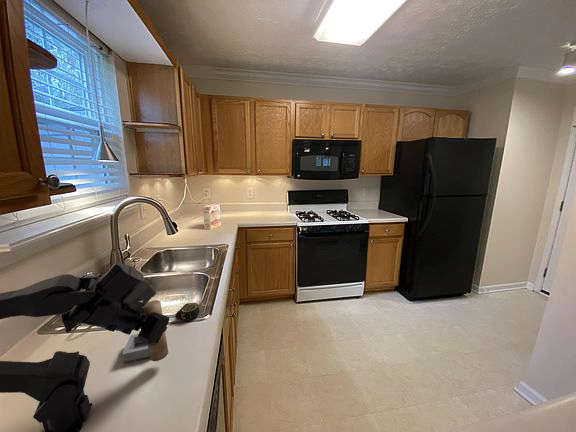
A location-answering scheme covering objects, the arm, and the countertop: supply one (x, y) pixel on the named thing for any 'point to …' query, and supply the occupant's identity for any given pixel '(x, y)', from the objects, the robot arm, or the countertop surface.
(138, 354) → the pocket block
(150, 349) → the peg
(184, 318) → the tape measure
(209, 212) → the coffeecake box
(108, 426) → the countertop surface
